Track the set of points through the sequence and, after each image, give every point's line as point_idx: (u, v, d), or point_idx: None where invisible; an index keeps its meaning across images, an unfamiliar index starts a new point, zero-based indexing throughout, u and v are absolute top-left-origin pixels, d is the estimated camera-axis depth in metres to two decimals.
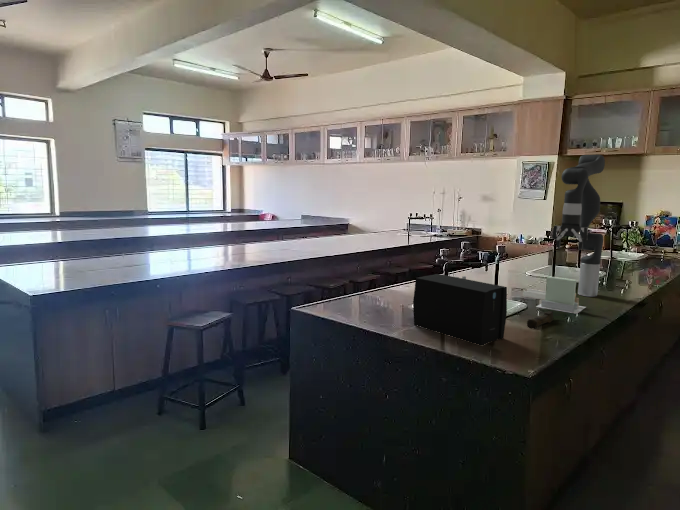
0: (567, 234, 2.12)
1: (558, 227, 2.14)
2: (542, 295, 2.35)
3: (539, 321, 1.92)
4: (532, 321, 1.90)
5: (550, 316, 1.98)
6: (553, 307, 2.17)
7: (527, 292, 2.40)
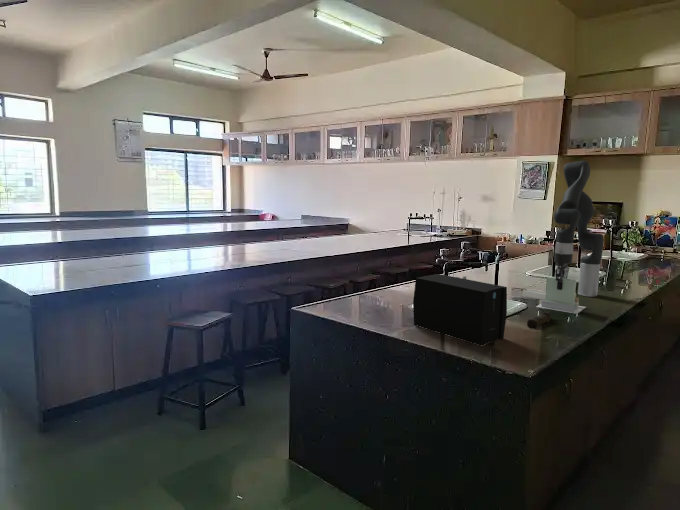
0: (564, 271, 2.16)
1: None
2: (542, 295, 2.35)
3: (539, 321, 1.92)
4: (532, 321, 1.90)
5: (549, 316, 1.99)
6: (553, 307, 2.17)
7: (527, 292, 2.40)
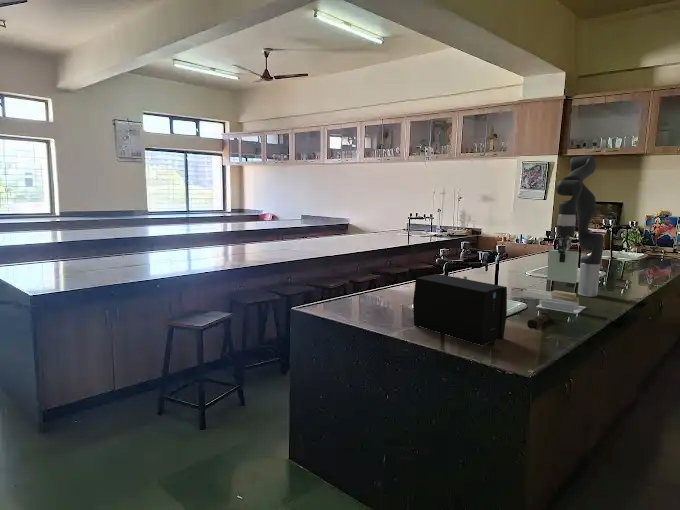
0: None
1: None
2: (542, 295, 2.35)
3: (539, 321, 1.92)
4: (533, 321, 1.90)
5: (547, 315, 1.99)
6: (553, 307, 2.17)
7: (527, 292, 2.40)
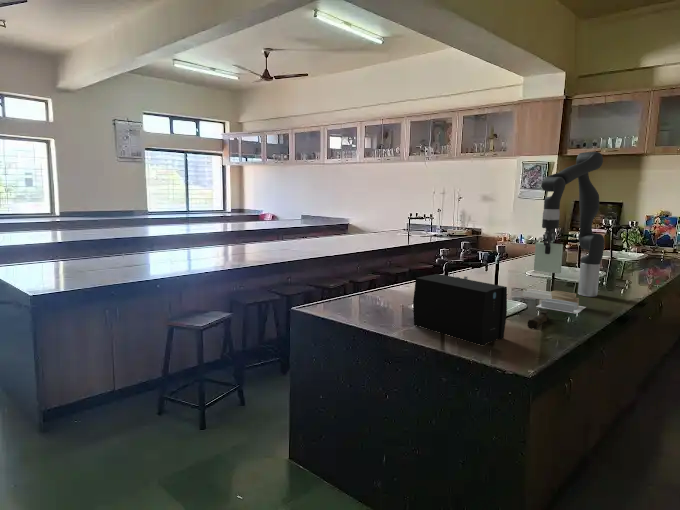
0: None
1: None
2: (542, 295, 2.35)
3: (539, 321, 1.92)
4: (533, 321, 1.90)
5: (546, 315, 2.00)
6: (553, 307, 2.17)
7: (527, 292, 2.40)
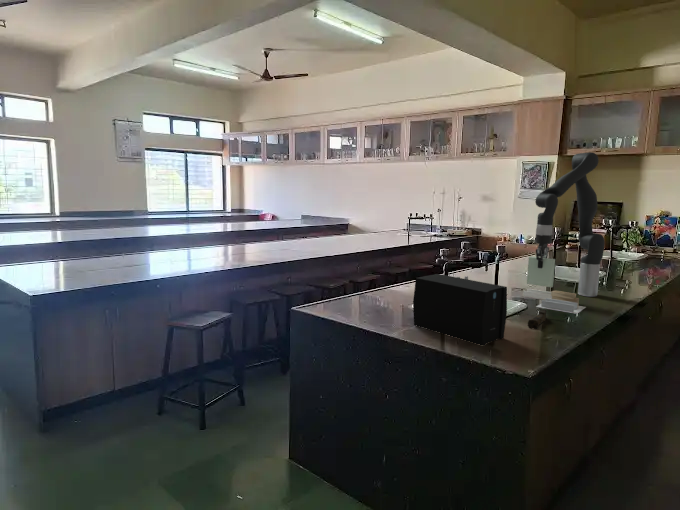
0: (544, 251, 2.35)
1: None
2: (542, 295, 2.35)
3: (539, 321, 1.92)
4: (533, 321, 1.89)
5: (545, 315, 2.00)
6: (553, 307, 2.17)
7: (527, 292, 2.40)
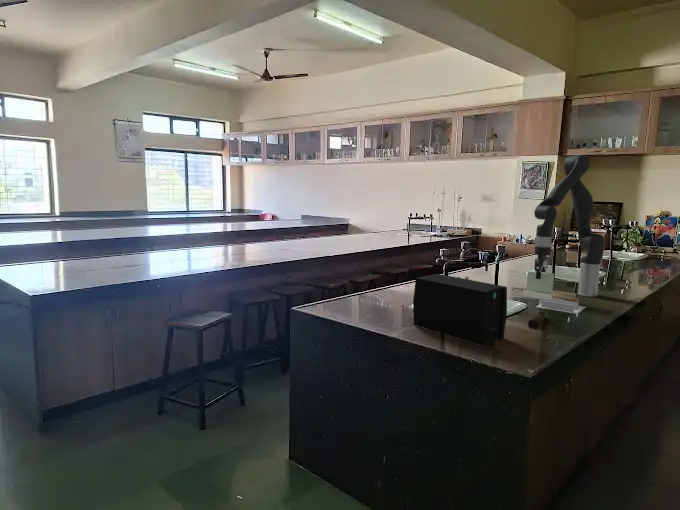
0: None
1: None
2: (542, 295, 2.35)
3: (539, 321, 1.92)
4: (534, 321, 1.89)
5: (544, 315, 2.00)
6: (553, 307, 2.17)
7: (527, 292, 2.40)
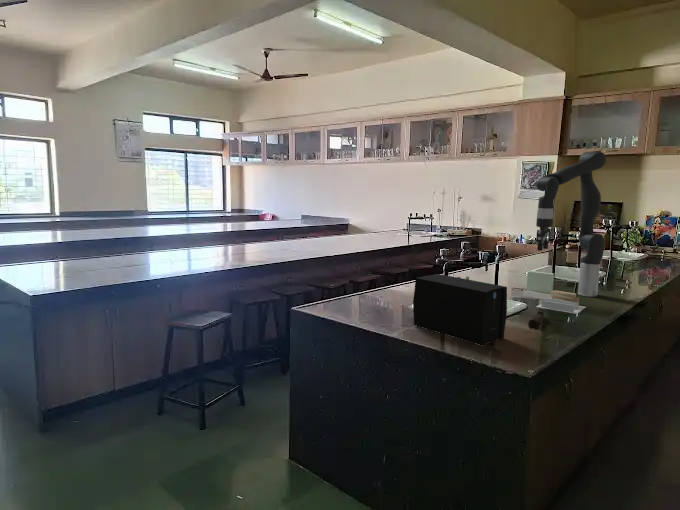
0: None
1: None
2: (542, 295, 2.35)
3: (539, 321, 1.92)
4: (534, 321, 1.89)
5: (543, 314, 2.00)
6: (553, 307, 2.17)
7: (527, 292, 2.40)
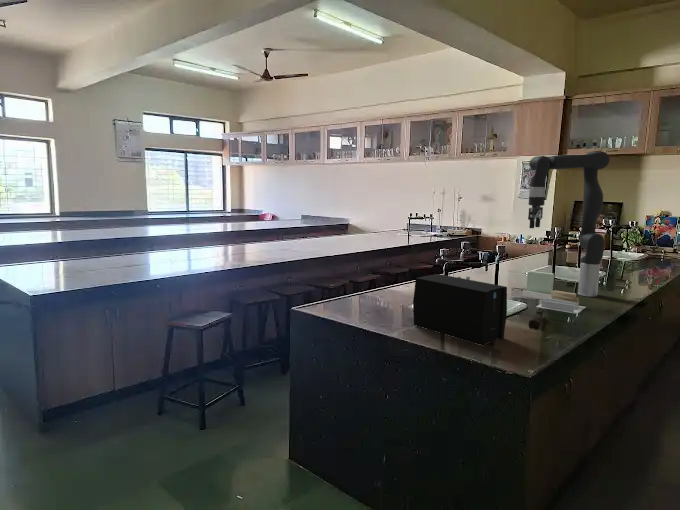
0: (537, 214, 2.39)
1: None
2: (542, 295, 2.35)
3: (539, 321, 1.92)
4: (534, 322, 1.89)
5: (542, 314, 2.01)
6: (553, 307, 2.17)
7: (527, 292, 2.40)
